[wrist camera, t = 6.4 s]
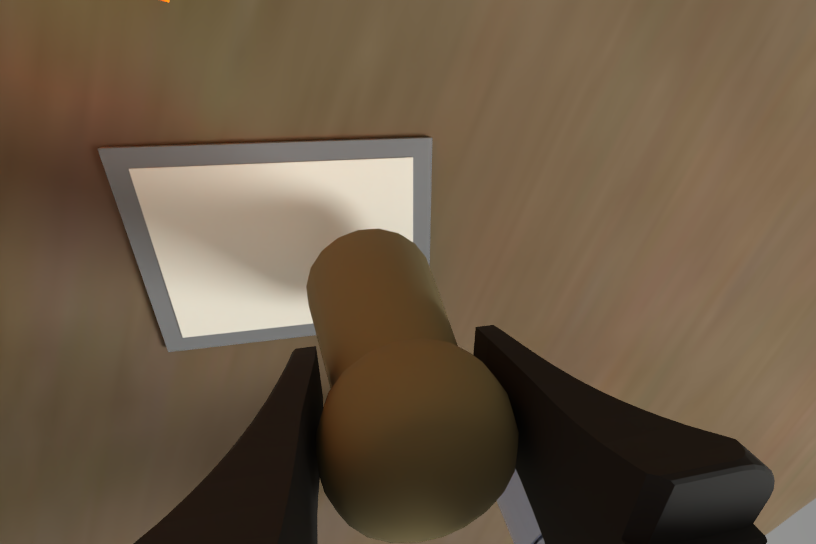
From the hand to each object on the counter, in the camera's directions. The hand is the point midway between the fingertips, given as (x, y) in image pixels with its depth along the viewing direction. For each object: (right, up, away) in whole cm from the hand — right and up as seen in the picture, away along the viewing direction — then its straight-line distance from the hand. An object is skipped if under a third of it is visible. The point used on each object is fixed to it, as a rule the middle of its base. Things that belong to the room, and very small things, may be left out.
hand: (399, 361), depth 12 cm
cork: (-1, +2, +6) cm, 7 cm away
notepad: (-6, +4, +8) cm, 11 cm away
